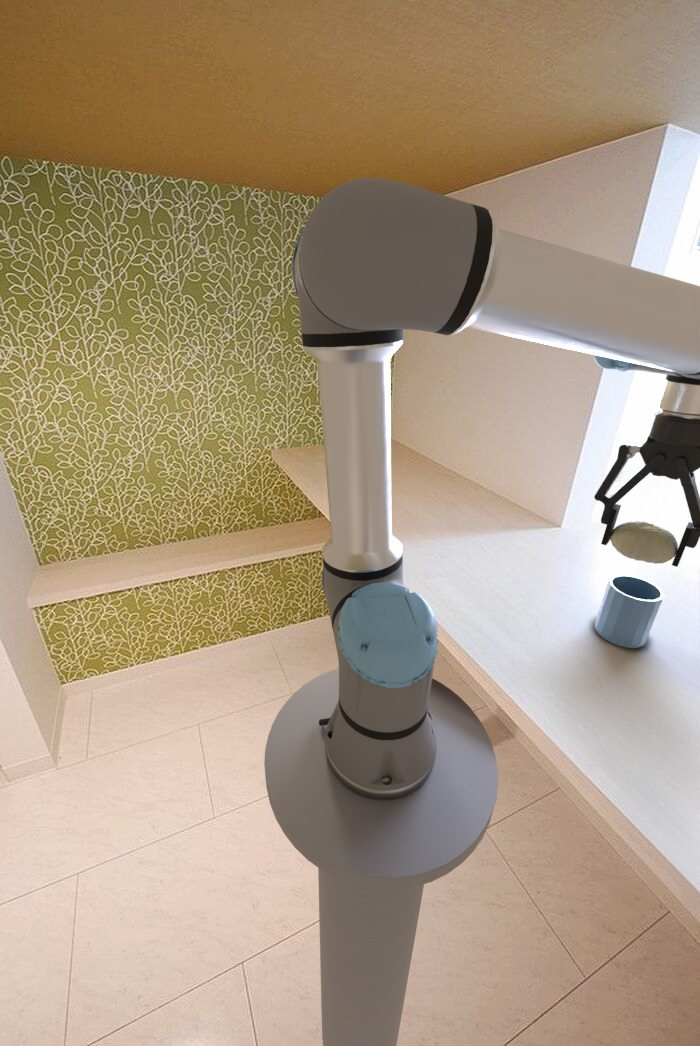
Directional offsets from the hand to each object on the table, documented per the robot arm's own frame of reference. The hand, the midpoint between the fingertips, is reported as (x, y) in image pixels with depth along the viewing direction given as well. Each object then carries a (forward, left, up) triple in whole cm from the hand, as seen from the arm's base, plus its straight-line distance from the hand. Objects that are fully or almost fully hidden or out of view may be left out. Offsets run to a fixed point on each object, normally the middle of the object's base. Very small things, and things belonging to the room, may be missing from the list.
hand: (639, 551), depth 71 cm
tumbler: (+1, +3, -18) cm, 18 cm away
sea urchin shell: (0, 0, 0) cm, 0 cm away
